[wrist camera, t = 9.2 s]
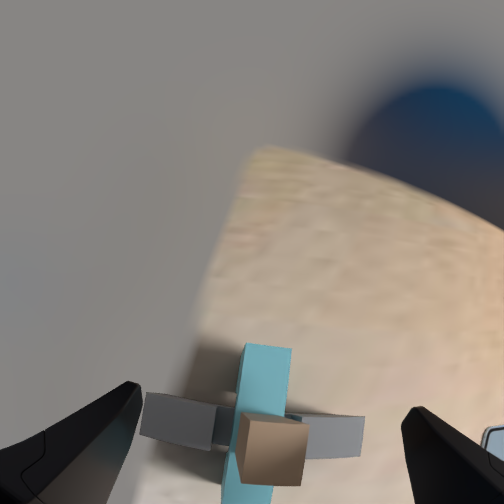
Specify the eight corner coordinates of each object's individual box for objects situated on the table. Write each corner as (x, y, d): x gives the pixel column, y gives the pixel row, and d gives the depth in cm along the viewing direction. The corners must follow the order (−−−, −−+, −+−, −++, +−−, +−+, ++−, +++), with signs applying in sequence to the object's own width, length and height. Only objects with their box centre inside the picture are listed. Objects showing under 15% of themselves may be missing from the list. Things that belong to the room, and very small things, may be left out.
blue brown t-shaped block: (257, 489, 14) (290, 561, 5) (221, 485, 14) (220, 559, 5) (275, 360, 19) (325, 321, 10) (241, 355, 19) (257, 312, 10)
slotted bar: (333, 414, 17) (365, 416, 13) (329, 445, 16) (360, 456, 12) (165, 393, 17) (146, 392, 13) (159, 426, 16) (139, 434, 11)
